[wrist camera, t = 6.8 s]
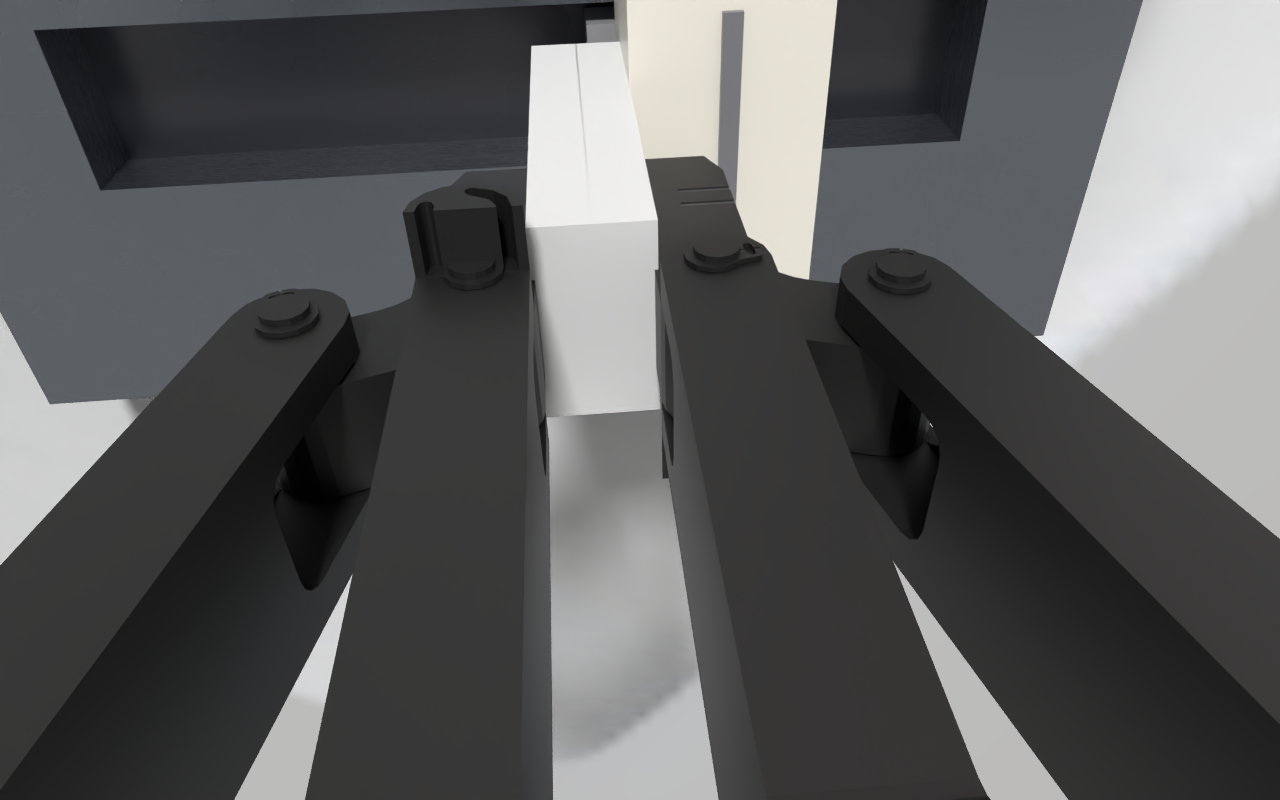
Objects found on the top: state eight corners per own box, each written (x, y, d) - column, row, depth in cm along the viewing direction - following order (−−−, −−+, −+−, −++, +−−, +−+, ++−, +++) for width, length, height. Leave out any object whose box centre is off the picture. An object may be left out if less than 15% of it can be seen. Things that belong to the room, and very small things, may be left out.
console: (92, 341, 23) (47, 407, 21) (-229, -332, 15) (-354, -334, 13) (1001, 281, 24) (1045, 338, 22) (1167, -373, 16) (1261, -381, 14)
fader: (594, 183, 20) (607, 309, 16) (579, -73, 17) (591, 4, 13) (778, 172, 20) (836, 294, 16) (796, -83, 17) (875, -10, 13)
